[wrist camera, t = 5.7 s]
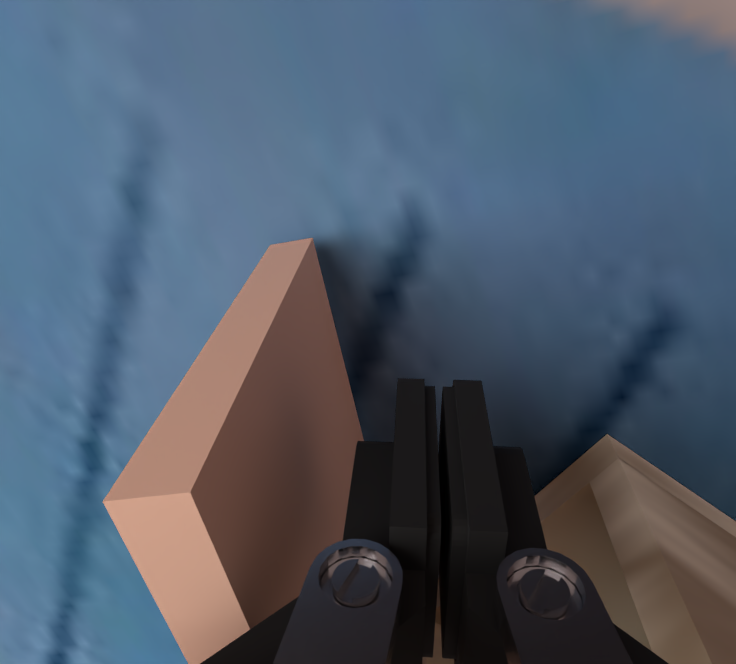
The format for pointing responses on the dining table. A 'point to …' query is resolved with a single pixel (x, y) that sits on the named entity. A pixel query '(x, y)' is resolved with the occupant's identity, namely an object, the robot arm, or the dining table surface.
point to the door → (245, 461)
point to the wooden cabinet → (643, 554)
